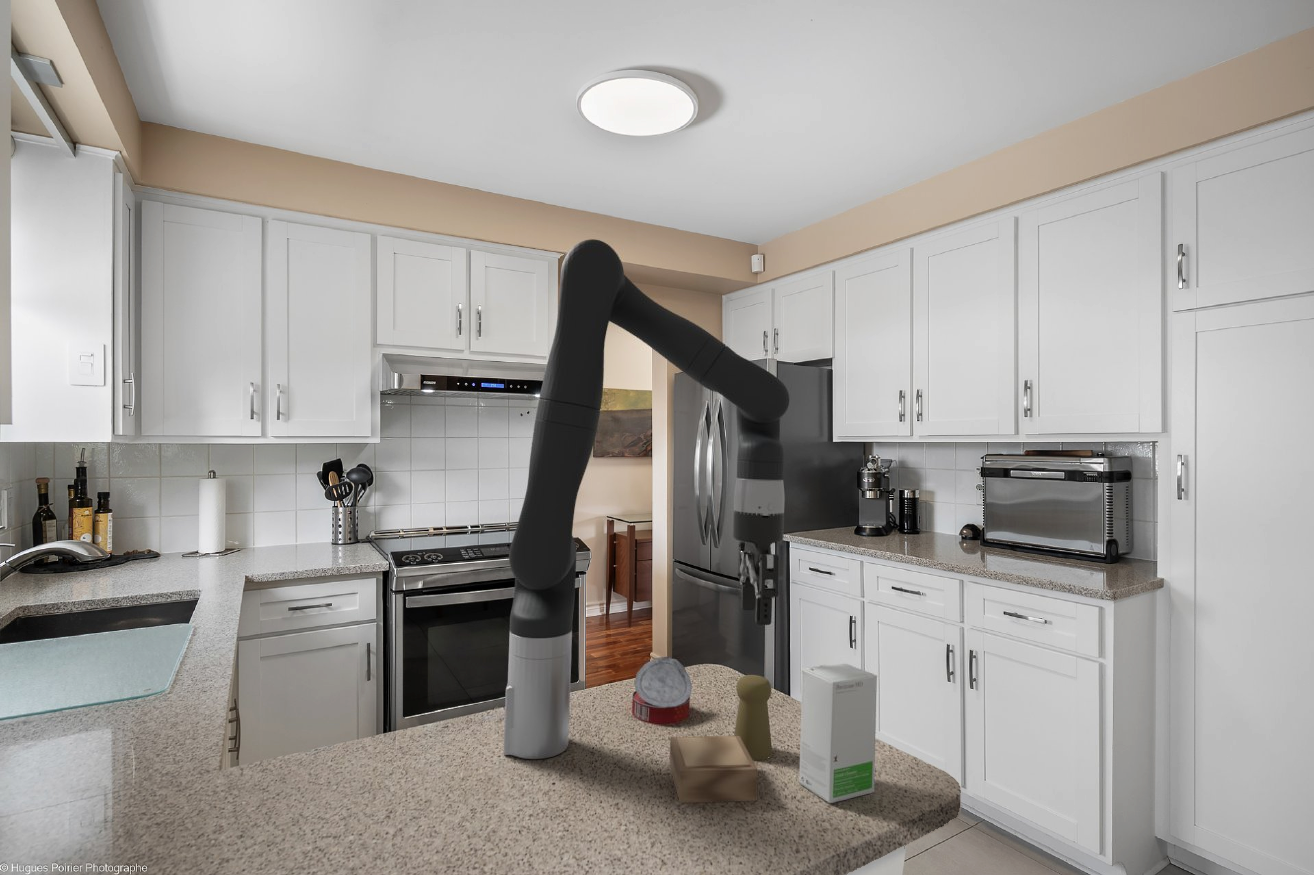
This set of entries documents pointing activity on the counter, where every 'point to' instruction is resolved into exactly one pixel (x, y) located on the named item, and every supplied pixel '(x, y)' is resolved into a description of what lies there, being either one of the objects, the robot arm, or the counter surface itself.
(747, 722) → the olive knobbed peg
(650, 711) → the canned food
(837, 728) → the skincare box
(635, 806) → the counter surface
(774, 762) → the counter surface
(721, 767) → the base
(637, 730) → the counter surface
